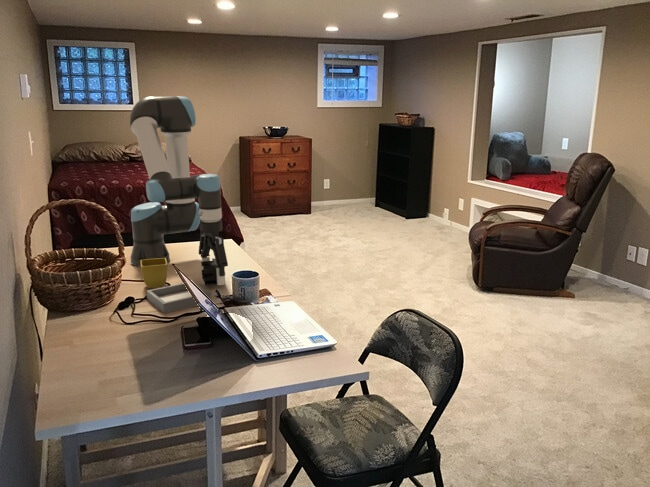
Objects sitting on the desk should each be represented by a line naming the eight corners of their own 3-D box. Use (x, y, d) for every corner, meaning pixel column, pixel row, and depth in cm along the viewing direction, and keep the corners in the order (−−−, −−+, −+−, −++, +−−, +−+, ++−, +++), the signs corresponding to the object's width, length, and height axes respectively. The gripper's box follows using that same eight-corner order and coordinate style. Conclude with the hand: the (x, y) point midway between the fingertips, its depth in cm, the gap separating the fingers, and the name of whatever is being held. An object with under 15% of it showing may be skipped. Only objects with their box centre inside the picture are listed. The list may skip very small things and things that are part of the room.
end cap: (225, 284, 198) (225, 265, 196) (205, 286, 196) (204, 267, 194) (221, 275, 207) (220, 257, 206) (201, 276, 205) (200, 259, 203)
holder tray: (147, 299, 188) (146, 290, 188) (192, 289, 197) (192, 281, 197) (163, 313, 177) (163, 303, 176) (211, 302, 186) (210, 293, 185)
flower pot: (167, 281, 207) (165, 257, 204) (169, 288, 199) (167, 264, 196) (142, 283, 204) (140, 259, 202) (143, 291, 196) (140, 266, 194)
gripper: (186, 214, 202) (190, 272, 209) (215, 228, 184) (218, 291, 190) (206, 211, 207) (209, 268, 213) (236, 225, 188) (238, 287, 195)
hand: (213, 279), depth 202 cm, fingers closed on end cap, 11 cm apart
